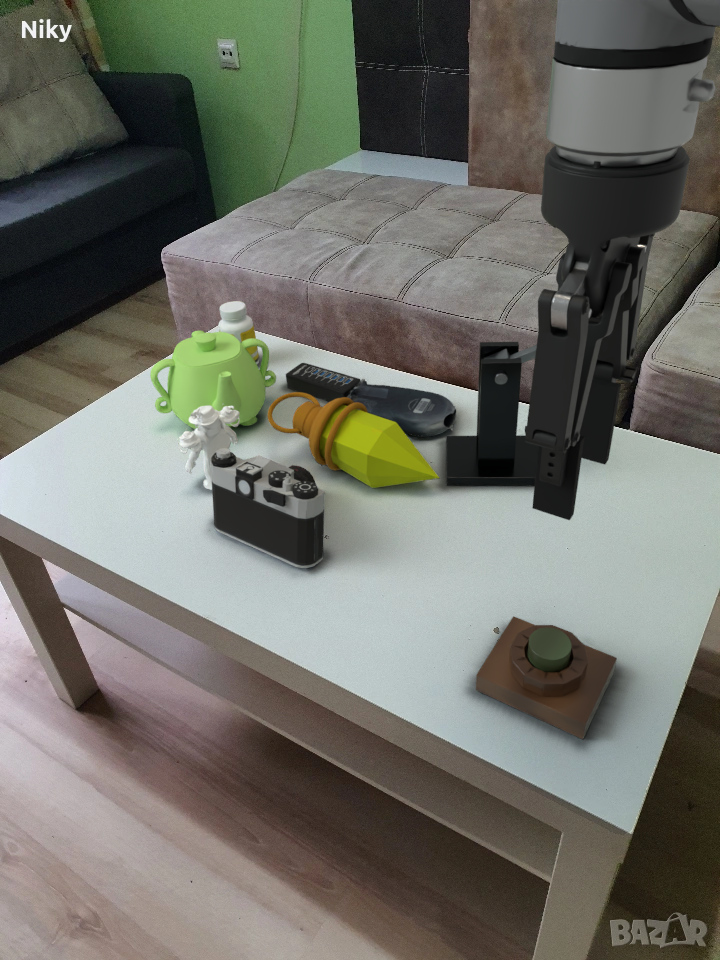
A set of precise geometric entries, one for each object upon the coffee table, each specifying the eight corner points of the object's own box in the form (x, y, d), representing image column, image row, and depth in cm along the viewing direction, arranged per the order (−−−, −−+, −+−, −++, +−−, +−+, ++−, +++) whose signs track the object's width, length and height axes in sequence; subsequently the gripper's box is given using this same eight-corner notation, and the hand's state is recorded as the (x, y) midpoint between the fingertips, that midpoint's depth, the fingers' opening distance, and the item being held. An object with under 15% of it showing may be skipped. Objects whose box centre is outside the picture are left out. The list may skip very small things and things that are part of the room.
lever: (614, 327, 84) (603, 297, 82) (621, 343, 81) (609, 313, 79) (493, 375, 90) (480, 348, 88) (495, 393, 86) (482, 365, 84)
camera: (358, 533, 88) (361, 456, 83) (301, 576, 80) (301, 494, 75) (262, 494, 95) (260, 421, 90) (201, 530, 87) (195, 453, 82)
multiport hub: (345, 406, 108) (344, 392, 107) (286, 387, 113) (284, 374, 112) (362, 392, 111) (361, 378, 109) (304, 374, 116) (302, 361, 115)
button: (575, 650, 67) (577, 637, 66) (560, 679, 64) (562, 665, 63) (537, 634, 68) (538, 621, 67) (520, 662, 66) (522, 649, 65)
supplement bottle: (259, 353, 123) (250, 297, 117) (260, 369, 118) (250, 311, 112) (226, 357, 122) (215, 301, 116) (225, 373, 118) (214, 316, 112)
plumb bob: (457, 474, 95) (297, 404, 104) (459, 427, 87) (287, 356, 97) (421, 527, 90) (258, 449, 100) (419, 481, 83) (243, 402, 93)
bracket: (539, 443, 98) (550, 332, 88) (546, 486, 91) (559, 371, 81) (446, 443, 99) (446, 334, 90) (446, 485, 92) (447, 372, 83)
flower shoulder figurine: (204, 504, 92) (184, 422, 85) (183, 493, 94) (161, 412, 87) (255, 467, 98) (240, 387, 90) (234, 458, 100) (218, 378, 92)
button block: (613, 673, 69) (620, 644, 66) (582, 739, 64) (588, 711, 61) (511, 631, 74) (514, 602, 71) (475, 690, 68) (476, 661, 66)
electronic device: (341, 438, 104) (444, 443, 98) (335, 400, 102) (440, 403, 96) (367, 411, 112) (465, 414, 105) (362, 375, 109) (462, 376, 103)
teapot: (300, 404, 109) (289, 324, 102) (242, 456, 100) (226, 373, 92) (211, 382, 116) (195, 306, 108) (150, 429, 106) (128, 349, 99)
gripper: (630, 210, 33) (573, 586, 47) (732, 109, 45) (663, 429, 59) (473, 191, 36) (463, 546, 50) (608, 102, 49) (570, 406, 63)
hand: (571, 482), depth 55 cm, fingers open, 6 cm apart
